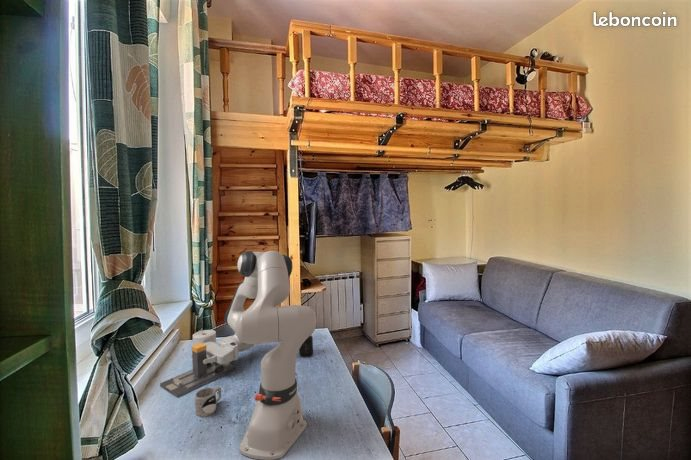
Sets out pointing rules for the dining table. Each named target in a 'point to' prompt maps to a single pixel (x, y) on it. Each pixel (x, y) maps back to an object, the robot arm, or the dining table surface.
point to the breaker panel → (196, 379)
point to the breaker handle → (199, 359)
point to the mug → (206, 401)
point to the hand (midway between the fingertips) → (197, 359)
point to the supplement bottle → (306, 347)
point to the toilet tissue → (204, 337)
